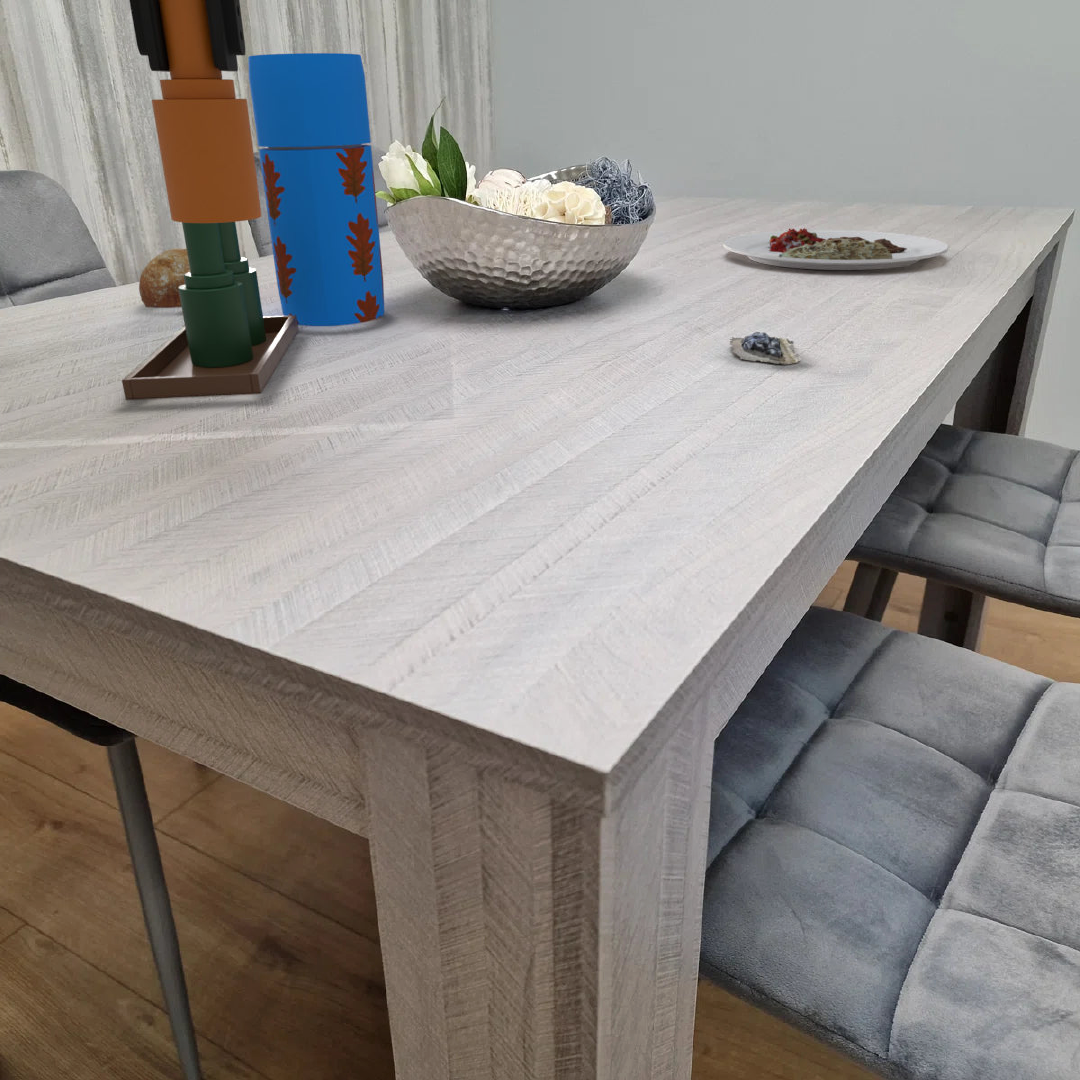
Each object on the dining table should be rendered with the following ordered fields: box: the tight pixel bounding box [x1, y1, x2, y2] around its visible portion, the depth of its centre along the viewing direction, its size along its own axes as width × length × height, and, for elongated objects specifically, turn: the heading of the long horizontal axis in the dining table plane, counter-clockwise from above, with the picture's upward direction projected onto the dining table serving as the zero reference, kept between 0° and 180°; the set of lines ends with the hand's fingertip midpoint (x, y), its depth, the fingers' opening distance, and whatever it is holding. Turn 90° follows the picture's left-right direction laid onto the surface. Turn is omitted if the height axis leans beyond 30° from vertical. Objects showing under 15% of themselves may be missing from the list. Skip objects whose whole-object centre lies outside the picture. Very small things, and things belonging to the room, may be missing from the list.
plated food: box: [723, 227, 949, 271], centre depth 131 cm, size 30×30×3 cm
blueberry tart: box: [729, 331, 802, 366], centre depth 83 cm, size 7×8×2 cm
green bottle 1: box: [178, 222, 253, 368], centre depth 80 cm, size 5×5×13 cm
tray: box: [121, 315, 299, 401], centre depth 82 cm, size 10×22×2 cm, turn 6°
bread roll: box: [138, 247, 190, 309], centre depth 109 cm, size 10×10×8 cm
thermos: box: [247, 52, 385, 327], centre depth 94 cm, size 11×11×25 cm
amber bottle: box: [151, 0, 262, 223], centre depth 54 cm, size 5×5×13 cm
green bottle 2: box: [218, 222, 266, 346], centre depth 86 cm, size 5×5×13 cm
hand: (195, 67), depth 53 cm, fingers closed on amber bottle, 2 cm apart
